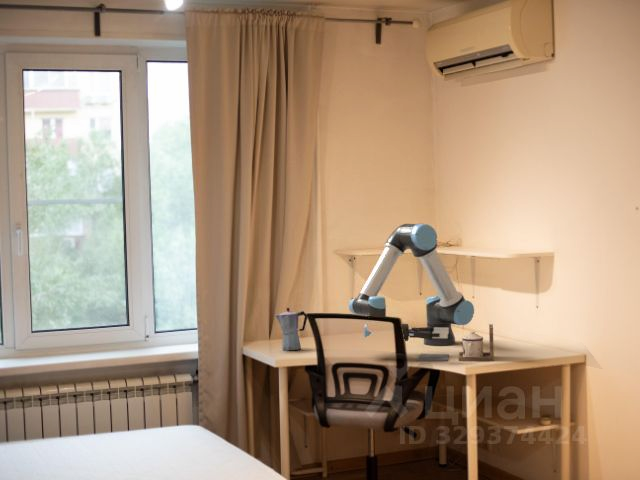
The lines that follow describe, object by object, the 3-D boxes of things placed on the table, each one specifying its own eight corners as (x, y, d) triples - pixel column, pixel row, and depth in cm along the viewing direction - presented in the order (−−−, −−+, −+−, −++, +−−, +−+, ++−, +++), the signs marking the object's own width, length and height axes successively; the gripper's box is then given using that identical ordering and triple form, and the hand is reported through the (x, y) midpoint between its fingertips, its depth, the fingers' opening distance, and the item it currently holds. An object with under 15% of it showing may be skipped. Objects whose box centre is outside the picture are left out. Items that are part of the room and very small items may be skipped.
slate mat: (419, 355, 383) (419, 354, 383) (448, 355, 381) (448, 354, 381) (417, 360, 370) (417, 359, 370) (447, 361, 367) (447, 359, 367)
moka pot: (275, 348, 414) (274, 307, 413) (307, 347, 415) (306, 305, 414) (276, 351, 404) (275, 309, 403) (309, 350, 405) (307, 308, 405)
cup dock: (459, 355, 380) (458, 324, 379) (493, 355, 377) (492, 324, 376) (458, 360, 367) (457, 328, 366) (493, 361, 364) (493, 328, 364)
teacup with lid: (464, 355, 379) (464, 329, 378) (485, 356, 375) (484, 330, 375) (459, 360, 368) (458, 333, 367) (480, 361, 364) (479, 334, 364)
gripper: (402, 336, 390) (449, 337, 386) (396, 345, 365) (447, 345, 361) (401, 320, 389) (449, 320, 385) (396, 327, 365) (446, 328, 361)
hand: (448, 332), depth 373 cm, fingers open, 13 cm apart
